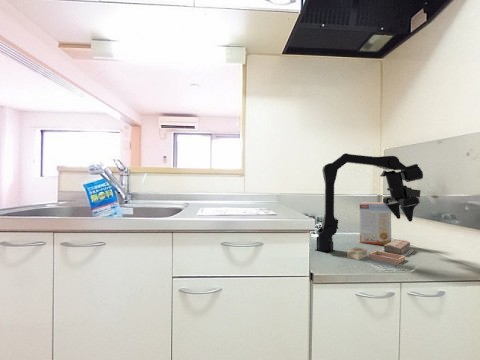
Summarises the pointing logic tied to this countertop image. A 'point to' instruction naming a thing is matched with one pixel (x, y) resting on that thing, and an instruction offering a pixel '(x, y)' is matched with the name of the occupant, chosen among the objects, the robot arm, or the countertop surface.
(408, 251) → the packaged product
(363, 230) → the cracker box
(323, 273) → the countertop surface
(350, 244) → the countertop surface
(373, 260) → the mat
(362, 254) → the cream rectangular prism
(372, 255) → the frame
